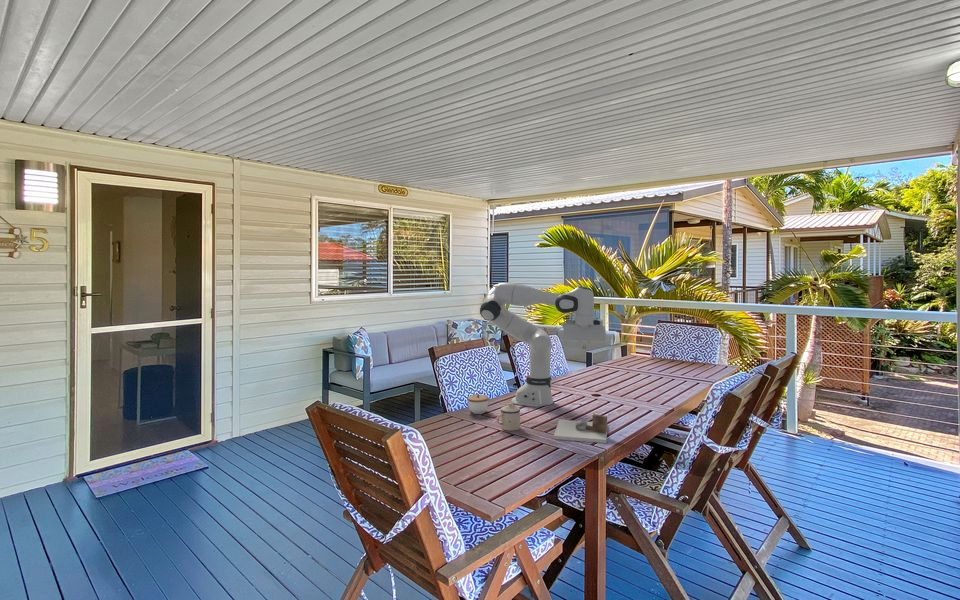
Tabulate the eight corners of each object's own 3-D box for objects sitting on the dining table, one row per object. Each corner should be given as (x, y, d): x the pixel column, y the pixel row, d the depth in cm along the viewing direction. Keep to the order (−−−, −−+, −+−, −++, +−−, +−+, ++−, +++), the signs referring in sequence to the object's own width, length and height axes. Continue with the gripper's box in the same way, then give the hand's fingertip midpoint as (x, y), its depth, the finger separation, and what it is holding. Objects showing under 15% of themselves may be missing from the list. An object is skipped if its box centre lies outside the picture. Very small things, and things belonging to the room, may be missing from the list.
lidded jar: (480, 407, 265) (480, 390, 264) (493, 412, 256) (492, 394, 255) (463, 411, 258) (463, 393, 257) (476, 416, 250) (475, 398, 249)
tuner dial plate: (553, 439, 217) (553, 435, 217) (559, 422, 238) (559, 419, 238) (606, 443, 211) (606, 439, 211) (607, 426, 232) (607, 422, 232)
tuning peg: (573, 428, 224) (573, 413, 223) (578, 425, 228) (578, 410, 228) (604, 434, 216) (604, 418, 216) (608, 430, 220) (608, 415, 220)
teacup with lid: (513, 423, 239) (513, 399, 238) (524, 428, 231) (524, 403, 230) (491, 428, 233) (491, 403, 232) (502, 433, 225) (502, 408, 224)
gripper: (561, 320, 241) (561, 349, 242) (605, 321, 235) (605, 351, 236) (563, 319, 247) (563, 347, 248) (606, 320, 241) (606, 349, 242)
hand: (584, 349), depth 242 cm, fingers closed
